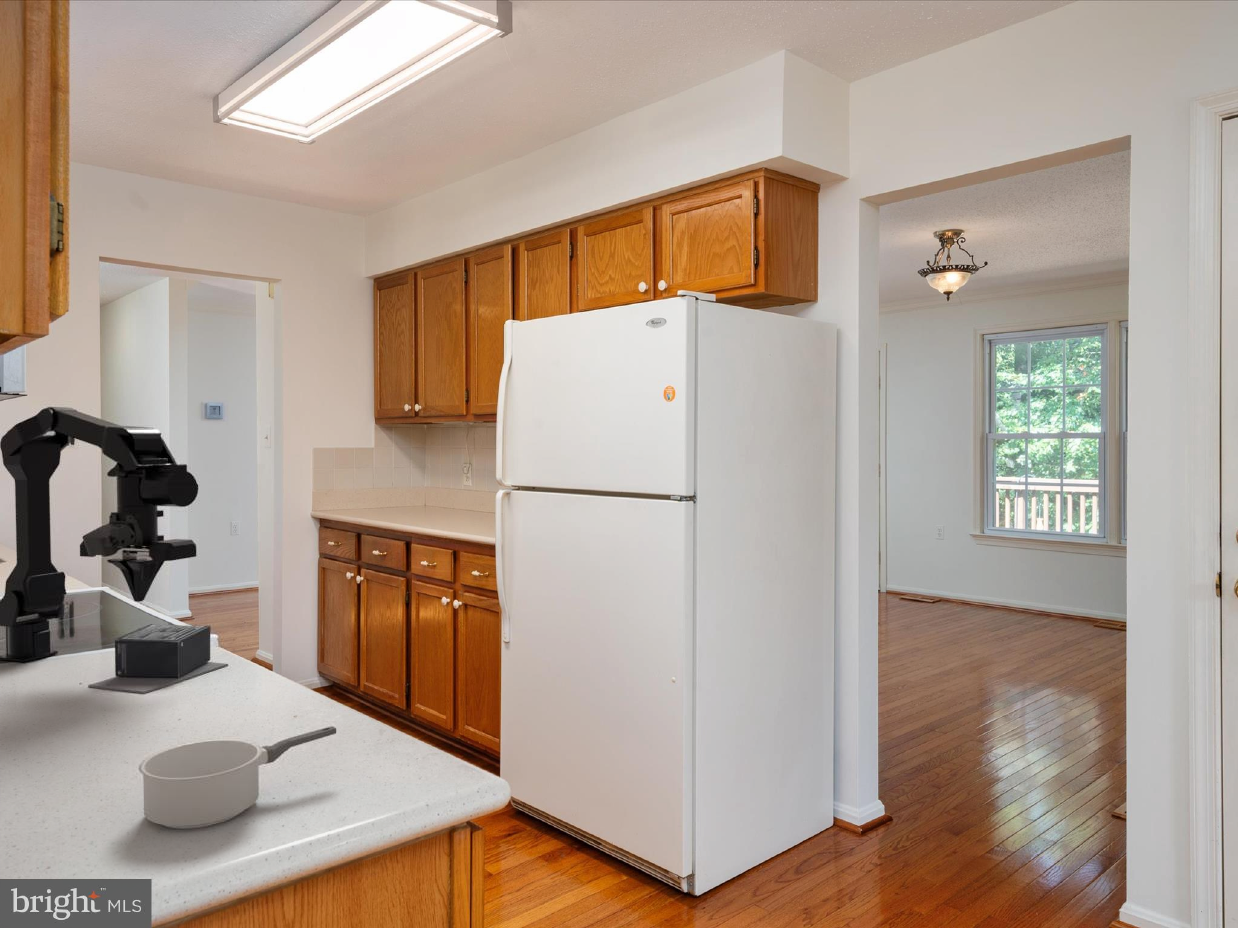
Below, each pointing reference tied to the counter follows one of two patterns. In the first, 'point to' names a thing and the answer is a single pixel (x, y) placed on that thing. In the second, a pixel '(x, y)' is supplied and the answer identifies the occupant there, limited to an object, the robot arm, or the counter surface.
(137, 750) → the counter surface
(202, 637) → the small box
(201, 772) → the saucepan
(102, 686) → the mat
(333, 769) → the counter surface
